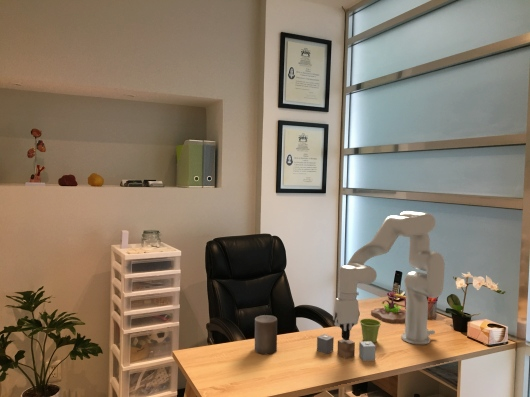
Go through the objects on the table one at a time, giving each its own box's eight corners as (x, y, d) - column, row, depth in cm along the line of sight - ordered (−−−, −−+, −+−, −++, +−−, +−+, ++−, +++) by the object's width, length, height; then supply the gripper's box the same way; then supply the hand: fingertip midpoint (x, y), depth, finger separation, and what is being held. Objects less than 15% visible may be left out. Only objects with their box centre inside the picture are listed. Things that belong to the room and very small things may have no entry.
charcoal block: (323, 347, 182) (324, 333, 182) (333, 350, 178) (333, 336, 178) (316, 350, 178) (317, 336, 178) (326, 354, 175) (326, 339, 174)
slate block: (370, 355, 175) (371, 340, 174) (375, 360, 170) (375, 345, 169) (359, 355, 174) (359, 341, 174) (363, 360, 169) (363, 345, 169)
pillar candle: (281, 351, 176) (281, 317, 176) (261, 356, 171) (262, 320, 171) (269, 344, 185) (269, 310, 184) (250, 348, 180) (250, 314, 179)
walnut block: (346, 352, 177) (346, 338, 177) (354, 356, 173) (354, 342, 173) (337, 354, 175) (337, 340, 174) (345, 359, 171) (345, 344, 170)
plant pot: (381, 345, 185) (381, 326, 184) (359, 343, 187) (359, 324, 186) (379, 337, 194) (380, 319, 193) (358, 335, 196) (359, 317, 195)
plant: (419, 321, 218) (420, 300, 218) (389, 325, 211) (390, 303, 210) (394, 309, 237) (395, 290, 236) (366, 313, 230) (366, 293, 229)
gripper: (357, 292, 179) (355, 334, 180) (327, 294, 173) (325, 337, 174) (367, 296, 172) (365, 340, 173) (336, 299, 166) (334, 344, 167)
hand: (345, 338), depth 173 cm, fingers closed
